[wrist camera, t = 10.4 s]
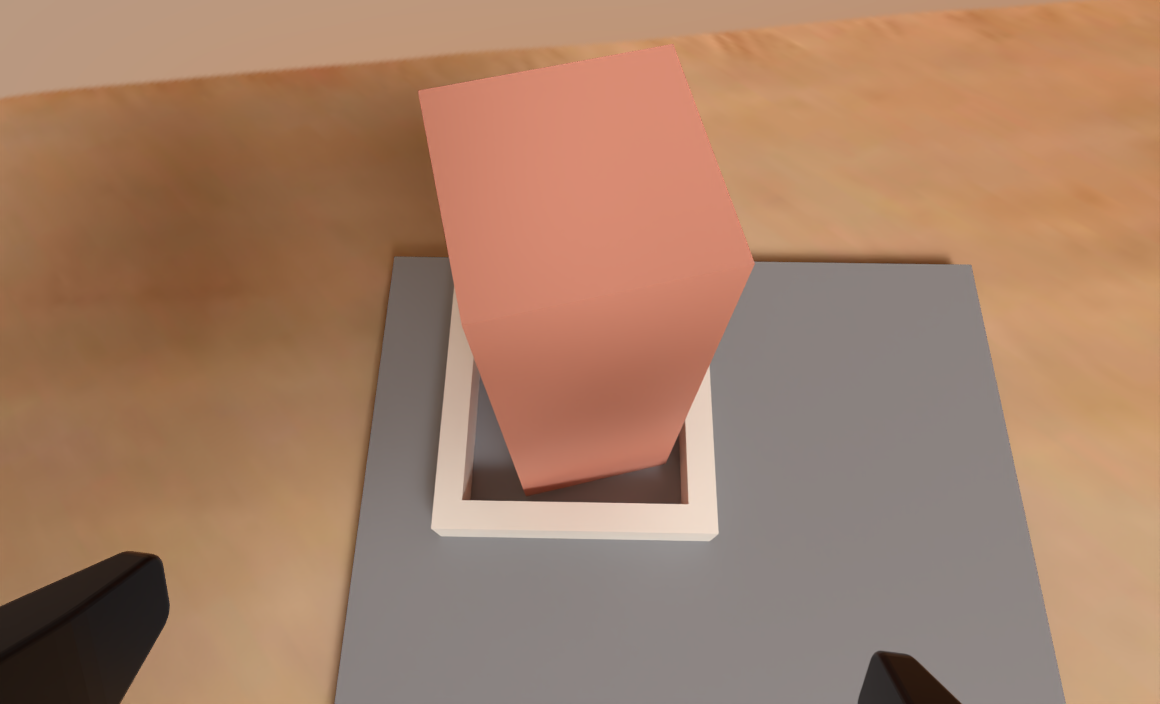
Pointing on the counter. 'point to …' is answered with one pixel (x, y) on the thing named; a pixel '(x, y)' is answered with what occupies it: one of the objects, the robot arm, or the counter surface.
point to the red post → (586, 256)
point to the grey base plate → (708, 516)
